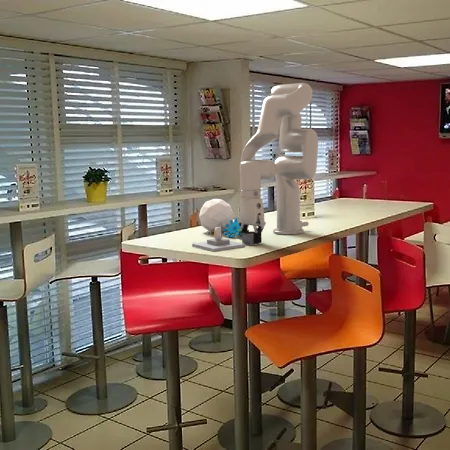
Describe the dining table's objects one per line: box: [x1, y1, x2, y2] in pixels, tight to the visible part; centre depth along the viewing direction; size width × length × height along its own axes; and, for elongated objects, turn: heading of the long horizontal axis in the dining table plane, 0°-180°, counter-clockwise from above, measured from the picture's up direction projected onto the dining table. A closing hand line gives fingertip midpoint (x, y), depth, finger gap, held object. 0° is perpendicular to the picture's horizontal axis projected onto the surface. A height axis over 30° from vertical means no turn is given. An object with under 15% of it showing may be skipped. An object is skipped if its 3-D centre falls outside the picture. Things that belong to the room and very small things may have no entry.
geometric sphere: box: [198, 198, 234, 233], centre depth 251 cm, size 14×15×15 cm
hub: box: [241, 230, 262, 246], centre depth 222 cm, size 7×7×4 cm
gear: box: [223, 217, 246, 239], centre depth 239 cm, size 11×6×10 cm
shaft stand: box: [191, 227, 246, 252], centre depth 217 cm, size 14×14×7 cm
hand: (251, 241), depth 222 cm, fingers closed on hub, 6 cm apart
